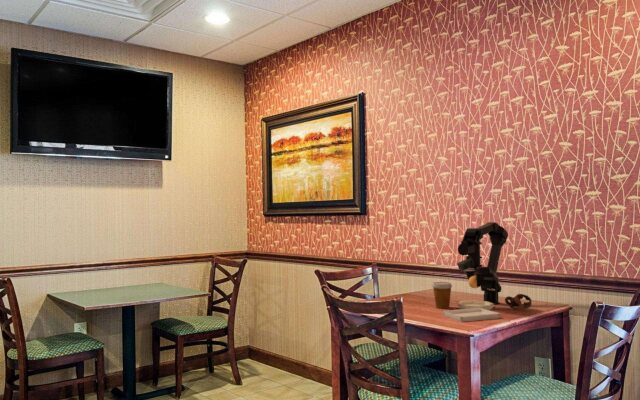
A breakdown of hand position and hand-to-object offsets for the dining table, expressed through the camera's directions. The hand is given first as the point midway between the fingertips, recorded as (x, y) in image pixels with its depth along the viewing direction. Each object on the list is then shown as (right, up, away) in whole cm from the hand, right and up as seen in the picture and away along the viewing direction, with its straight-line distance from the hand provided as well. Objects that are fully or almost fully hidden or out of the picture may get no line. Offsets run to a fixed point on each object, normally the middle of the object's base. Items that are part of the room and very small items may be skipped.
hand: (474, 286), depth 265 cm
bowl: (0, -11, 0) cm, 11 cm away
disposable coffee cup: (-15, -11, +2) cm, 19 cm away
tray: (-8, -10, -21) cm, 25 cm away
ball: (0, +2, 0) cm, 2 cm away
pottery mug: (+19, -10, -6) cm, 22 cm away
